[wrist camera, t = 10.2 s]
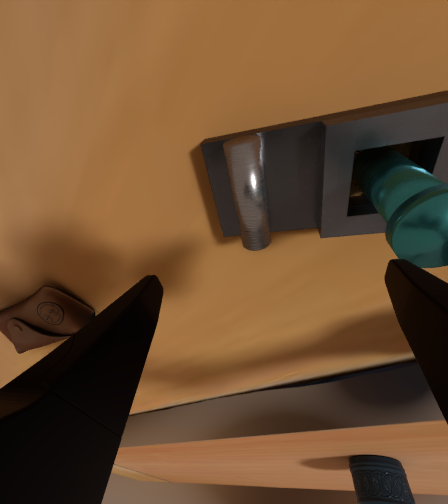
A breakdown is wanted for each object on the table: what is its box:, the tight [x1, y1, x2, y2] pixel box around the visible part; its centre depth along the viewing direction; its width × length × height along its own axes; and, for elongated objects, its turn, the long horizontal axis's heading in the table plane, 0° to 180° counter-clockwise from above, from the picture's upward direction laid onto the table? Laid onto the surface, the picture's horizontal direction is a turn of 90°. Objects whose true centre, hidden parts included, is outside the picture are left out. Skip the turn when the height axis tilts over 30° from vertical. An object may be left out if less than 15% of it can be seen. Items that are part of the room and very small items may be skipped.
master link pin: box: [352, 146, 448, 268], centre depth 14 cm, size 4×4×9 cm
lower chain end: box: [201, 91, 448, 251], centre depth 17 cm, size 8×16×4 cm, turn 102°
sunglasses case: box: [0, 286, 95, 354], centre depth 35 cm, size 18×7×7 cm
